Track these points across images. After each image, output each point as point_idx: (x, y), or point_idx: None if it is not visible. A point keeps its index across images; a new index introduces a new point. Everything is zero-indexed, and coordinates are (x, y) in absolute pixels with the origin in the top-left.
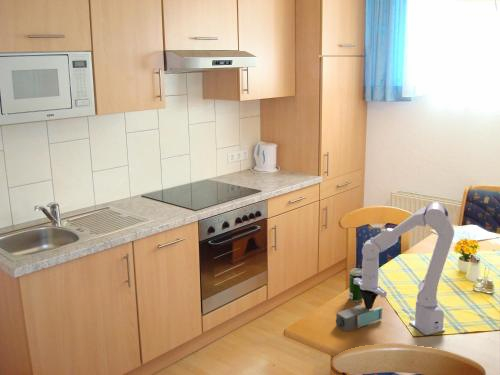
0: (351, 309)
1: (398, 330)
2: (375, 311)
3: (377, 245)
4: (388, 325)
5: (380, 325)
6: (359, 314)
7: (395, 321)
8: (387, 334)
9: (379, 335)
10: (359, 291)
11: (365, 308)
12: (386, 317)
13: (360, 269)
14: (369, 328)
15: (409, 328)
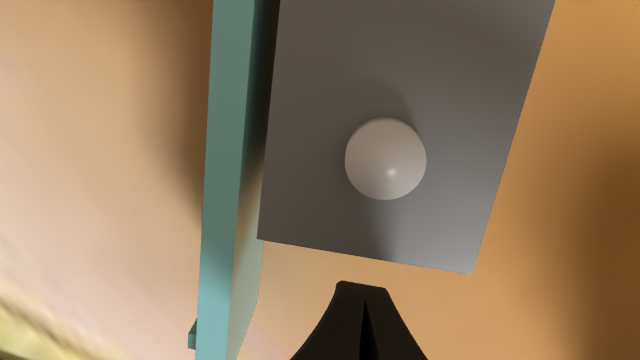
0: (484, 51)
1: (28, 239)
2: (205, 279)
3: None
4: (141, 254)
5: (184, 206)
6: (280, 23)
7: (157, 345)
8: (20, 109)
9: (44, 31)
10: None
11: (329, 240)
12: (252, 354)
13: None
14: (208, 78)
15: (10, 322)
